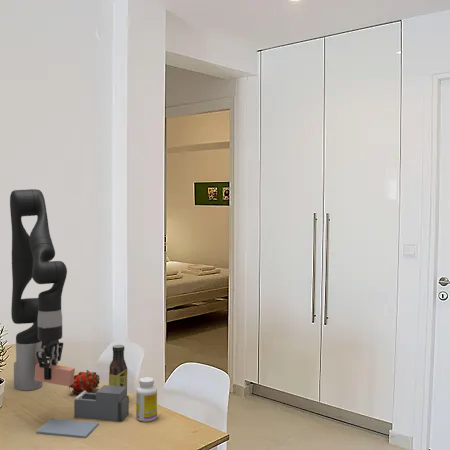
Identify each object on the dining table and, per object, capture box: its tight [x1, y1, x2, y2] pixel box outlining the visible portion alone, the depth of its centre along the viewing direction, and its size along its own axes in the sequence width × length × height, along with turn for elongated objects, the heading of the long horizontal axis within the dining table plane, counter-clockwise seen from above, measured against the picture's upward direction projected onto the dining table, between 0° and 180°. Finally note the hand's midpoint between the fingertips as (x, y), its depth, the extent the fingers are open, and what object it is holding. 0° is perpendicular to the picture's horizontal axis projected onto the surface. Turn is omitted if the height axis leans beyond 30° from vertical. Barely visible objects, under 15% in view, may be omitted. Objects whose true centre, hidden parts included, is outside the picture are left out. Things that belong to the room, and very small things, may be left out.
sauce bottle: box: [108, 344, 128, 388], centre depth 198 cm, size 6×6×20 cm
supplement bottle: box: [135, 376, 158, 423], centre depth 185 cm, size 7×7×13 cm
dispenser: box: [73, 384, 130, 423], centre depth 186 cm, size 16×7×9 cm, turn 80°
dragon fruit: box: [68, 369, 101, 394], centre depth 207 cm, size 8×8×12 cm
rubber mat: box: [35, 418, 100, 439], centre depth 176 cm, size 16×10×1 cm, turn 80°
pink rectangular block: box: [34, 363, 76, 387], centre depth 181 cm, size 12×3×5 cm, turn 79°
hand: (50, 377), depth 181 cm, fingers closed on pink rectangular block, 2 cm apart
